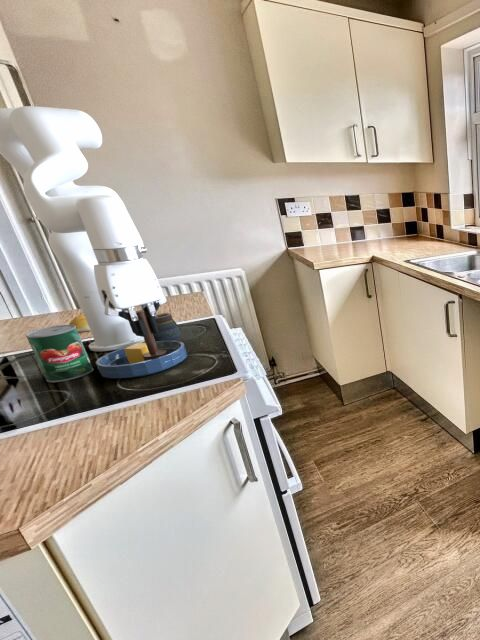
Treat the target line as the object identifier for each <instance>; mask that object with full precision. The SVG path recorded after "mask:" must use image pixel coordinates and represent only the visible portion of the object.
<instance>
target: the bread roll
mask: <svg viewBox="0 0 480 640" xmlns="http://www.w3.org/2000/svg"><path fill="white" fill-rule="evenodd" d="M68 325H75V326H76V329H77V331H78V333H82V332H91V331H90V328H89V326H88V323H87V321H86V318H85V316H84V314H82V315H78V316H75V318H73V319H72V320H71V321H70V322H69V324H68ZM86 328H87V329H86ZM78 329H79V330H78Z"/></svg>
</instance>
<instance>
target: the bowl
mask: <svg viewBox="0 0 480 640" xmlns="http://www.w3.org/2000/svg"><path fill="white" fill-rule="evenodd" d="M155 342H156V345H157V347H158V350H166V352H167V355H164V356H162V357H159V358H155V359H152V360H148V361H144V362H139V363H134V364H130V363H129V361H128V358H127V355H126V353H125V350H124V349H125V348H128V347H125V348H122V349H117V350H112V351H110V352H109V353H106V354H103V355H102V356H101V357H98V358H97V360H96V361H95V366H96V367H97V369H98V372H99V374H100V376H101V377H103V378H106V379H132V378H140V377H144V376H148V375H153V374H157V373H159V372H163V371H165V370H168V369H171V368H172V367H175V366H176V365H178V364H179V363H181V362H183V361H184V360H186V358H187V357H188V351H187V349H186V346H185V343H184V342H183V341H181V340H178V341H174V340H166V341H155ZM129 347H130V346H129Z"/></svg>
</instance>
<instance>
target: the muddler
mask: <svg viewBox="0 0 480 640" xmlns="http://www.w3.org/2000/svg"><path fill="white" fill-rule="evenodd" d="M135 311H136V314H137V317H138V319H139V320H142V322H143V325H144V328H145V330H146V333H147V335H146V336H145V337H144V340H145V342H144V343H146V345H147V348H148V351H149V352H148V353H145V354H144V355H143V358H144V360H145V361H148V360H152V359H155V358H159V357H162V356H164V355H167V352H166V350H158V347H157V345H156V342H155V339H154V336H153V333H152V330H151V328H150V325H149V322H148V319H147V316H146V314H145V311H144V310H142V309H141V310H135Z"/></svg>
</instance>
